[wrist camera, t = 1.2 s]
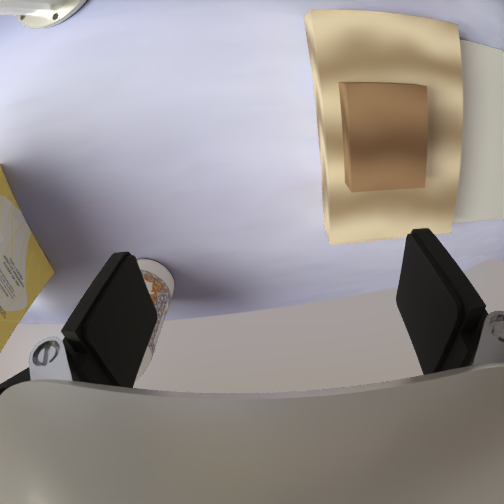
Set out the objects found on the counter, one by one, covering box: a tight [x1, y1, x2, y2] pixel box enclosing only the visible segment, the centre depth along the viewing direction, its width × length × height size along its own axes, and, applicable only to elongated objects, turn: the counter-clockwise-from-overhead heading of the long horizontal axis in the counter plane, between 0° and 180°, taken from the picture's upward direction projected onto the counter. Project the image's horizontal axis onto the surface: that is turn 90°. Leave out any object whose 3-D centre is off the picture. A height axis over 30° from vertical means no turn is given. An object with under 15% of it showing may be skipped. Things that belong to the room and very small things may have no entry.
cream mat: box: [453, 39, 504, 223], centre depth 25 cm, size 22×13×1 cm, turn 8°
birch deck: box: [304, 10, 463, 245], centre depth 25 cm, size 22×14×4 cm, turn 8°
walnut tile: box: [338, 82, 428, 193], centre depth 23 cm, size 9×7×2 cm
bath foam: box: [135, 259, 174, 381], centre depth 30 cm, size 7×7×20 cm
